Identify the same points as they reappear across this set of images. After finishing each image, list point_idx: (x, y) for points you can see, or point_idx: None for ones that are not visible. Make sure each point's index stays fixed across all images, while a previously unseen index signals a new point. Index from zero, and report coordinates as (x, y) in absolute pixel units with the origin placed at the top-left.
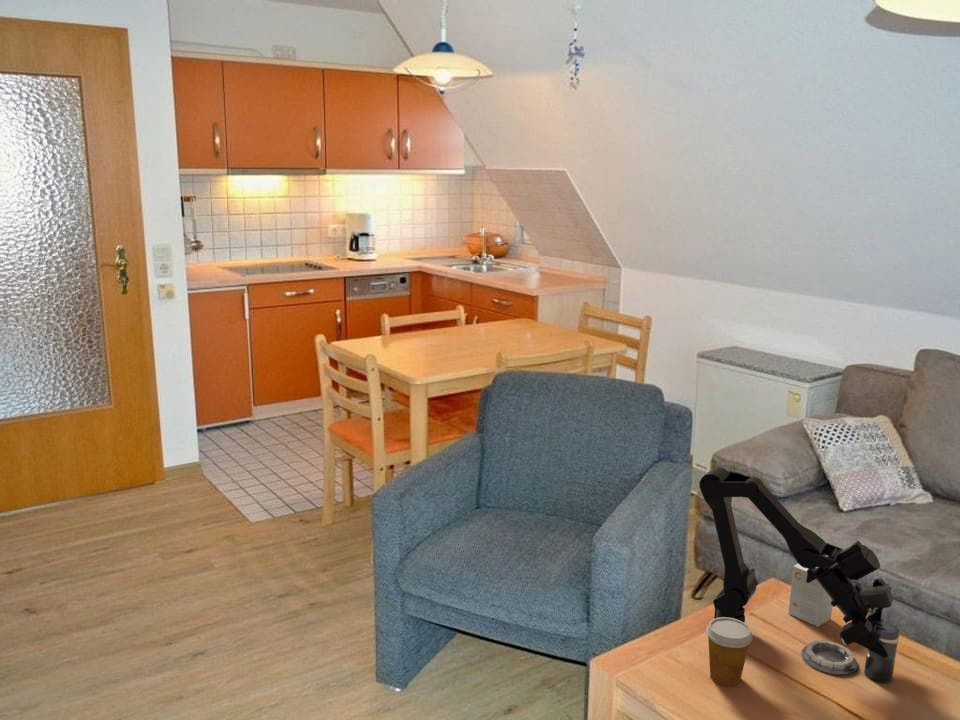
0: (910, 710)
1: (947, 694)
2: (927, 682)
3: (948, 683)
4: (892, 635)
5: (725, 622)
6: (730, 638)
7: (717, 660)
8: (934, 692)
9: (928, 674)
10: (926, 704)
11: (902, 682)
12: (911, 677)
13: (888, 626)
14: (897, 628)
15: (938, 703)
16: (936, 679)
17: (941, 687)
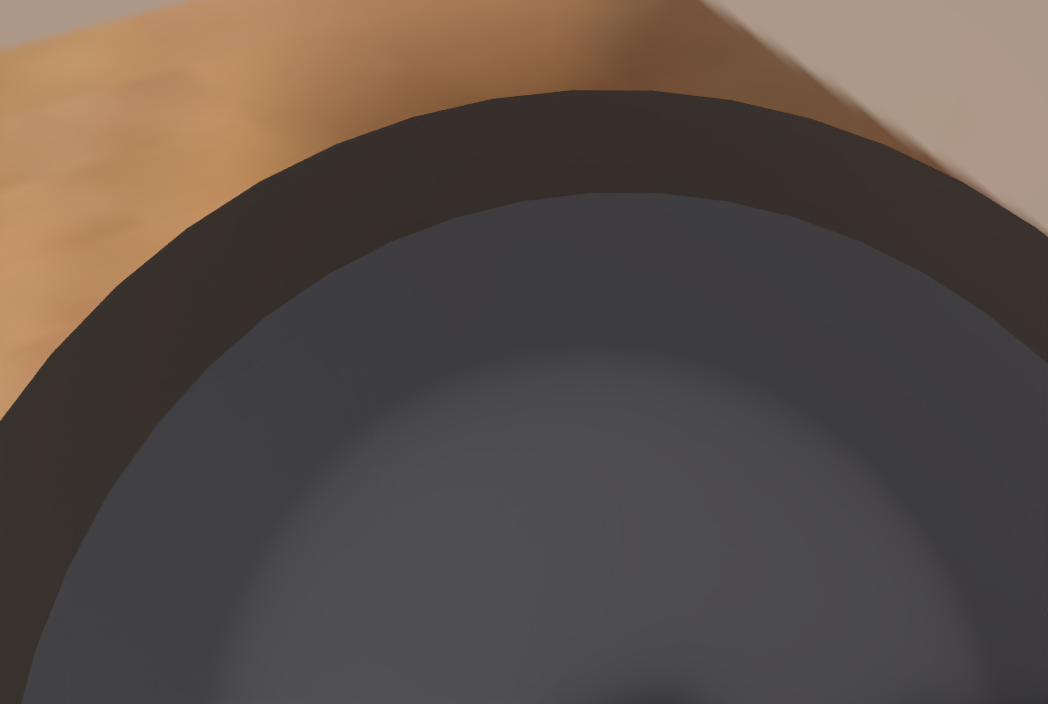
0: (878, 135)
1: (293, 4)
2: (208, 203)
3: (61, 58)
4: (949, 205)
5: None
6: None
7: None
8: (357, 93)
9: (17, 254)
10: (643, 74)
11: None
12: None
13: (370, 660)
14: (149, 279)
15: (528, 10)
16: (67, 162)
17: (200, 79)
